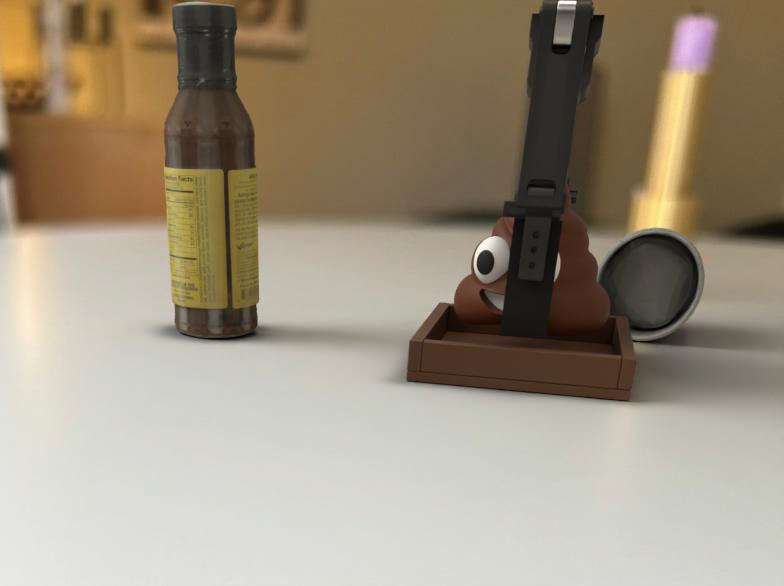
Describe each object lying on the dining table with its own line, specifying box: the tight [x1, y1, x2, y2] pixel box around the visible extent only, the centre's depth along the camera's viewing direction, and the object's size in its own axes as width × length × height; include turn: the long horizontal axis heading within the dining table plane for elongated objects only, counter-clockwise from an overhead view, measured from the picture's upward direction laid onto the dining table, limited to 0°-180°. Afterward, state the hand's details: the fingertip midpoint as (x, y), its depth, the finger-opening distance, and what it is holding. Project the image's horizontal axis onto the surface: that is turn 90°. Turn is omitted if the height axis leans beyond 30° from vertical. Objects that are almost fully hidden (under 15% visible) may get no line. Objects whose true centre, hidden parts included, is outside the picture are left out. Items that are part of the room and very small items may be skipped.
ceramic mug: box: [597, 226, 706, 342], centre depth 75 cm, size 11×8×8 cm
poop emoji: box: [453, 167, 610, 336], centre depth 62 cm, size 10×8×9 cm
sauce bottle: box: [163, 1, 260, 339], centre depth 67 cm, size 6×6×20 cm
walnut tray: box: [405, 302, 638, 401], centre depth 65 cm, size 13×14×2 cm
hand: (526, 321), depth 64 cm, fingers closed on poop emoji, 9 cm apart
